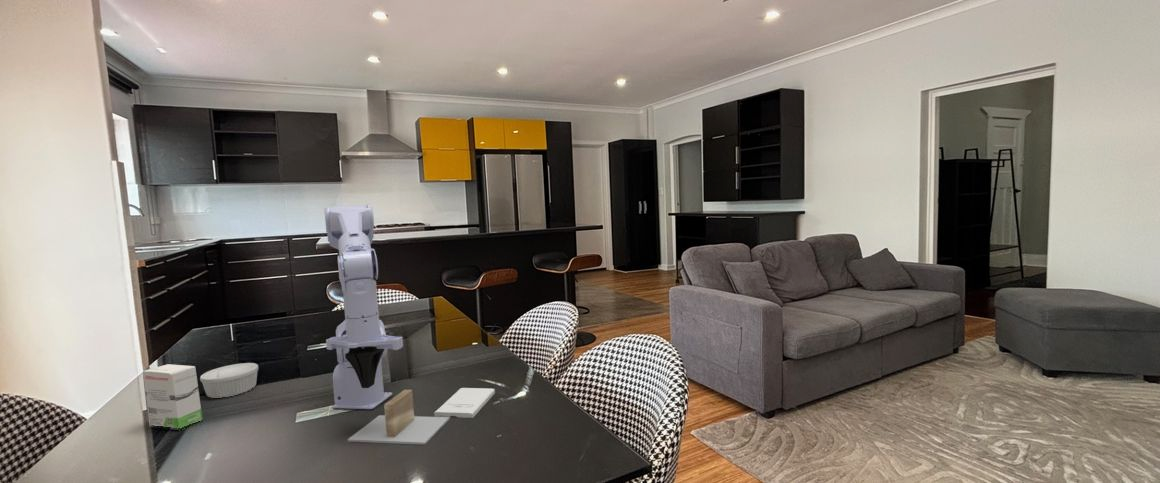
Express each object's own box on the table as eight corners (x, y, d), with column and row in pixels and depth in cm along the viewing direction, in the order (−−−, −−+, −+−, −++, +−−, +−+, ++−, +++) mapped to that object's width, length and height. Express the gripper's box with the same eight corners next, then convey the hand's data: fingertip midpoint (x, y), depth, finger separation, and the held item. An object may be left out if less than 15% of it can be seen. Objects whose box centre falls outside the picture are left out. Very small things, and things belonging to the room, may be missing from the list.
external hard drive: (495, 395, 108) (473, 420, 95) (460, 394, 109) (434, 419, 97) (494, 388, 107) (472, 412, 95) (460, 387, 109) (433, 411, 97)
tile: (386, 436, 88) (383, 404, 88) (406, 419, 95) (404, 389, 95) (394, 437, 88) (392, 404, 87) (414, 419, 95) (412, 389, 94)
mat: (347, 441, 88) (347, 439, 88) (379, 417, 98) (379, 415, 98) (425, 444, 85) (424, 442, 85) (449, 419, 95) (449, 417, 95)
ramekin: (191, 398, 113) (188, 376, 113) (240, 381, 124) (238, 361, 123) (222, 403, 109) (220, 380, 109) (270, 385, 119) (268, 364, 119)
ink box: (203, 420, 100) (197, 365, 99) (177, 432, 95) (170, 373, 94) (174, 417, 103) (168, 362, 102) (147, 428, 98) (140, 370, 97)
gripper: (312, 320, 88) (319, 393, 89) (385, 320, 86) (391, 395, 87) (337, 311, 95) (343, 379, 96) (406, 311, 93) (411, 380, 94)
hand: (368, 386), depth 92 cm, fingers closed
